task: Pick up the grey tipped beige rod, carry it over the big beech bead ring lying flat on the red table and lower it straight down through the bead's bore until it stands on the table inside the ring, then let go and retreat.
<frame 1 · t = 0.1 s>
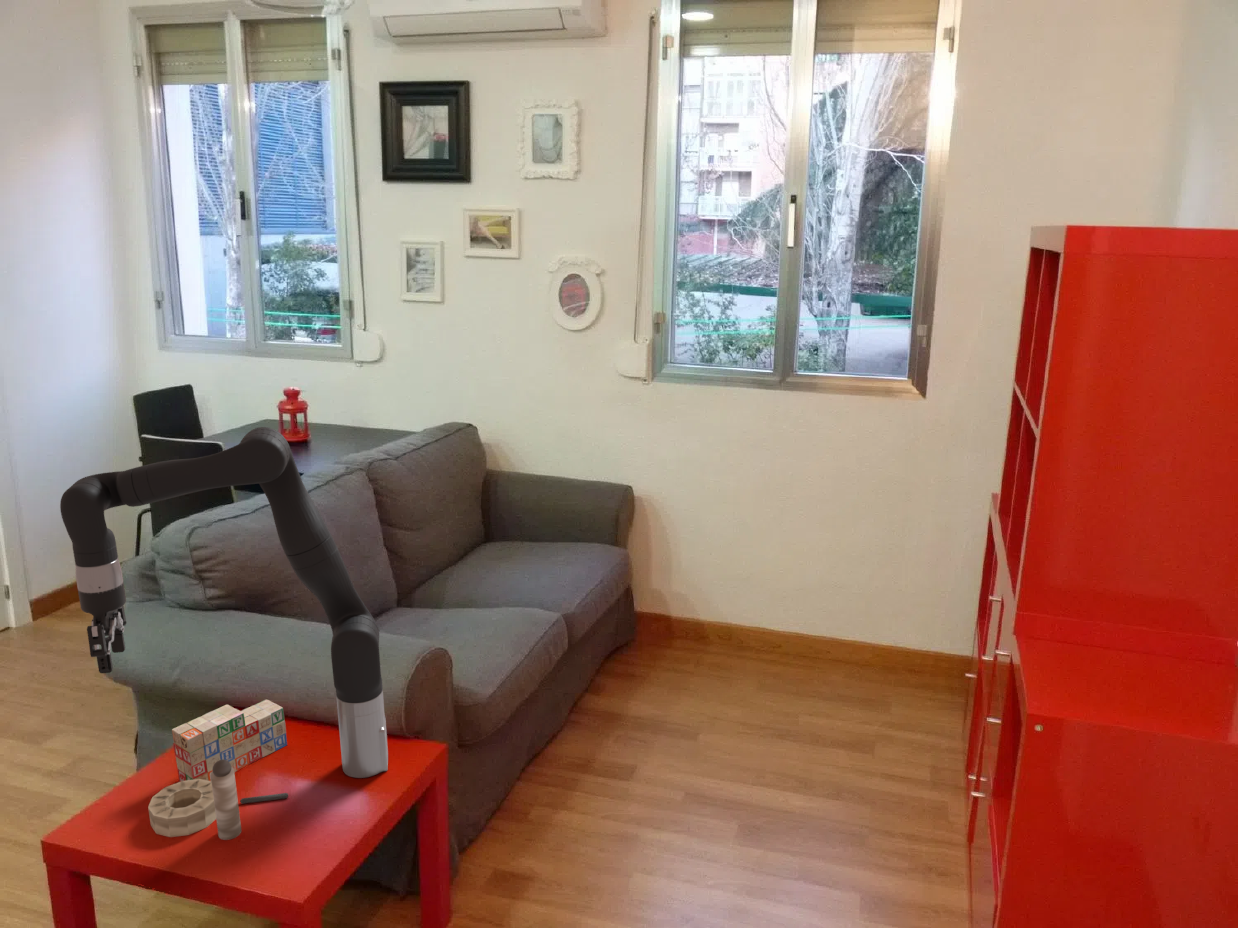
hand: (112, 661, 179), 29 cm above the table, fingers open, 8 cm apart
stack of blocks: (235, 763, 198), on the table
grey tipped beige rod: (230, 832, 176), on the table
bead: (186, 815, 180), on the table
dark grey rod: (264, 800, 185), on the table
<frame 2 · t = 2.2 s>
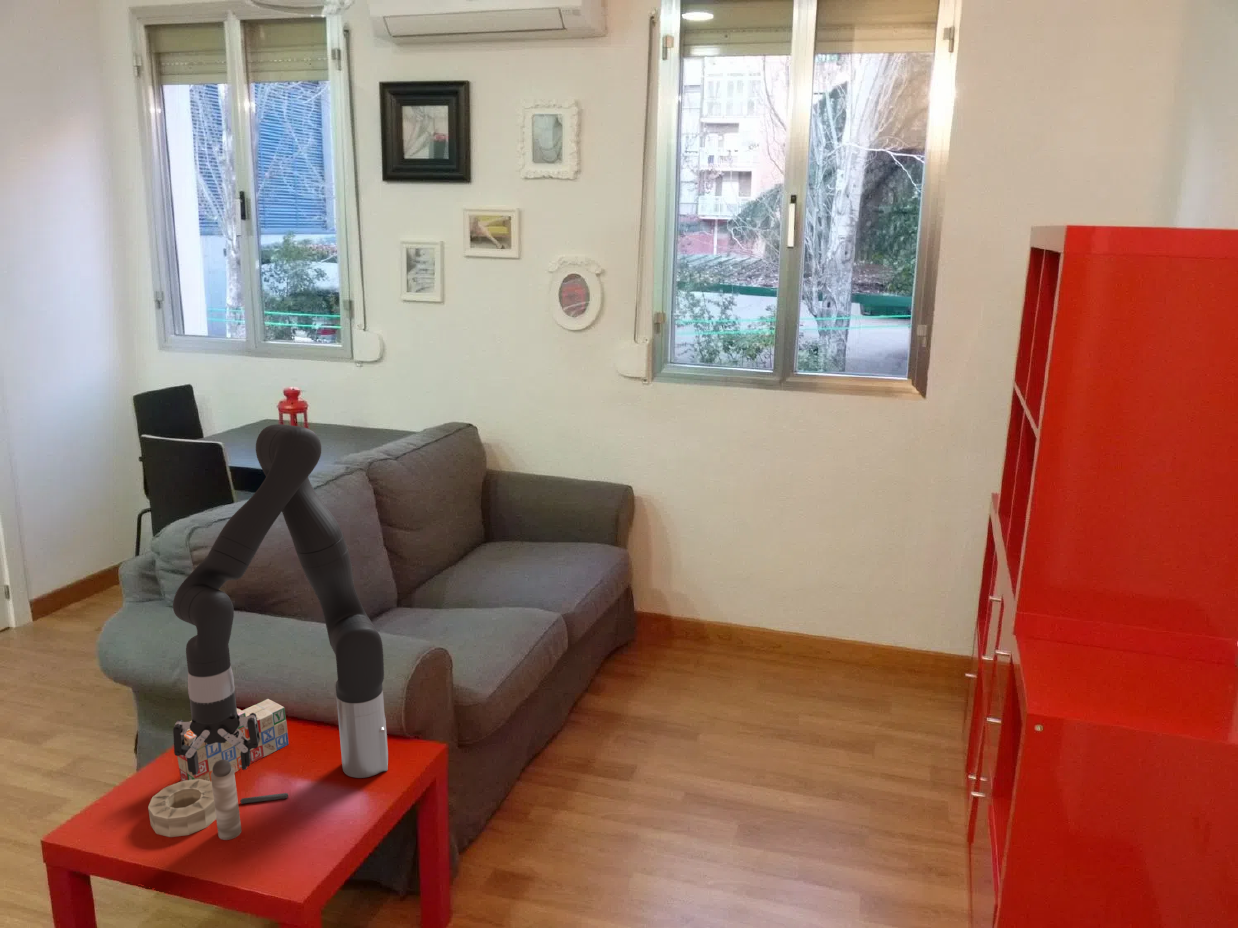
hand: (220, 769, 172), 13 cm above the table, fingers open, 8 cm apart
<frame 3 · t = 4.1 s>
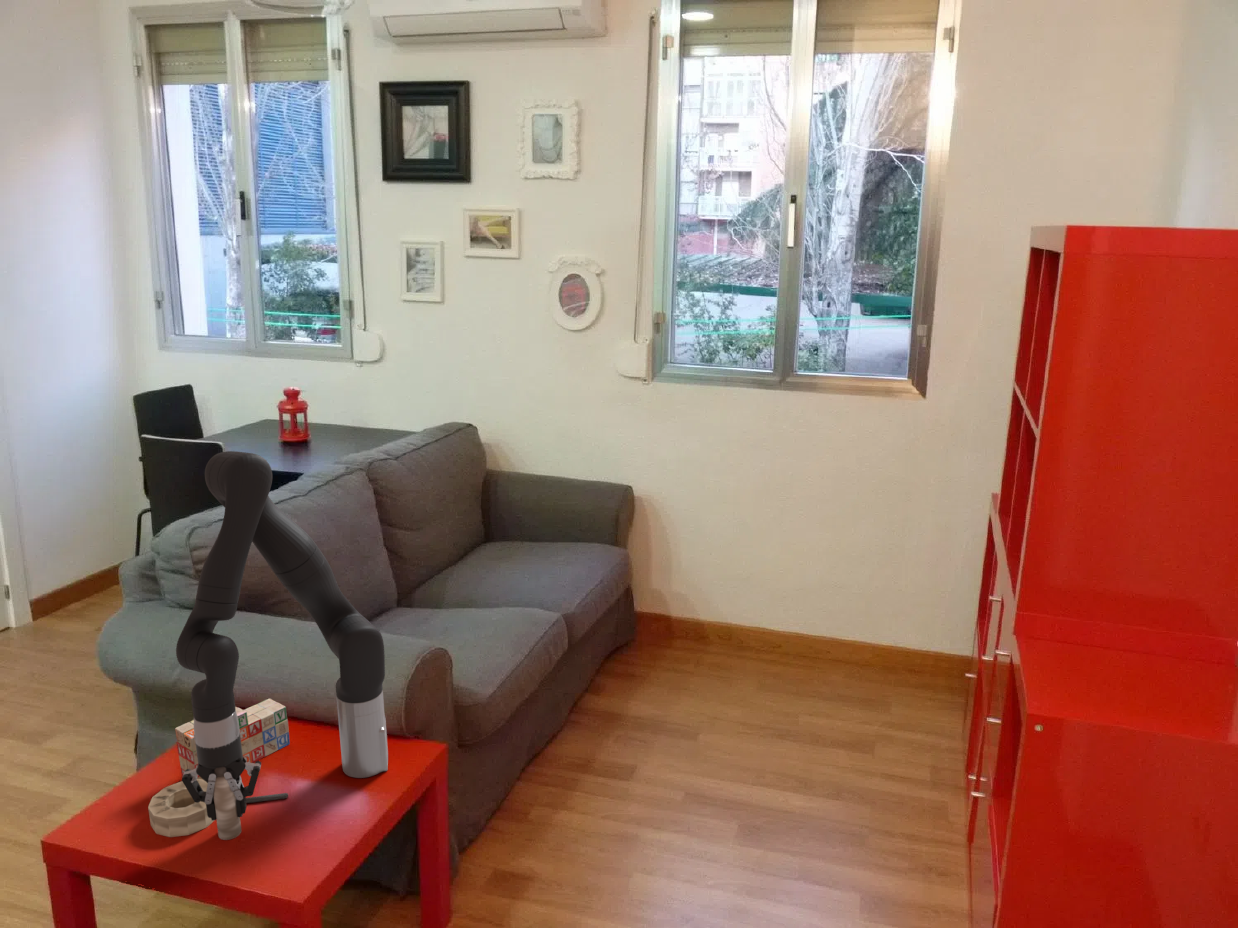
hand: (227, 815, 174), 4 cm above the table, fingers closed on grey tipped beige rod, 4 cm apart
grey tipped beige rod: (230, 832, 176), on the table, touching gripper
everything else where it was.
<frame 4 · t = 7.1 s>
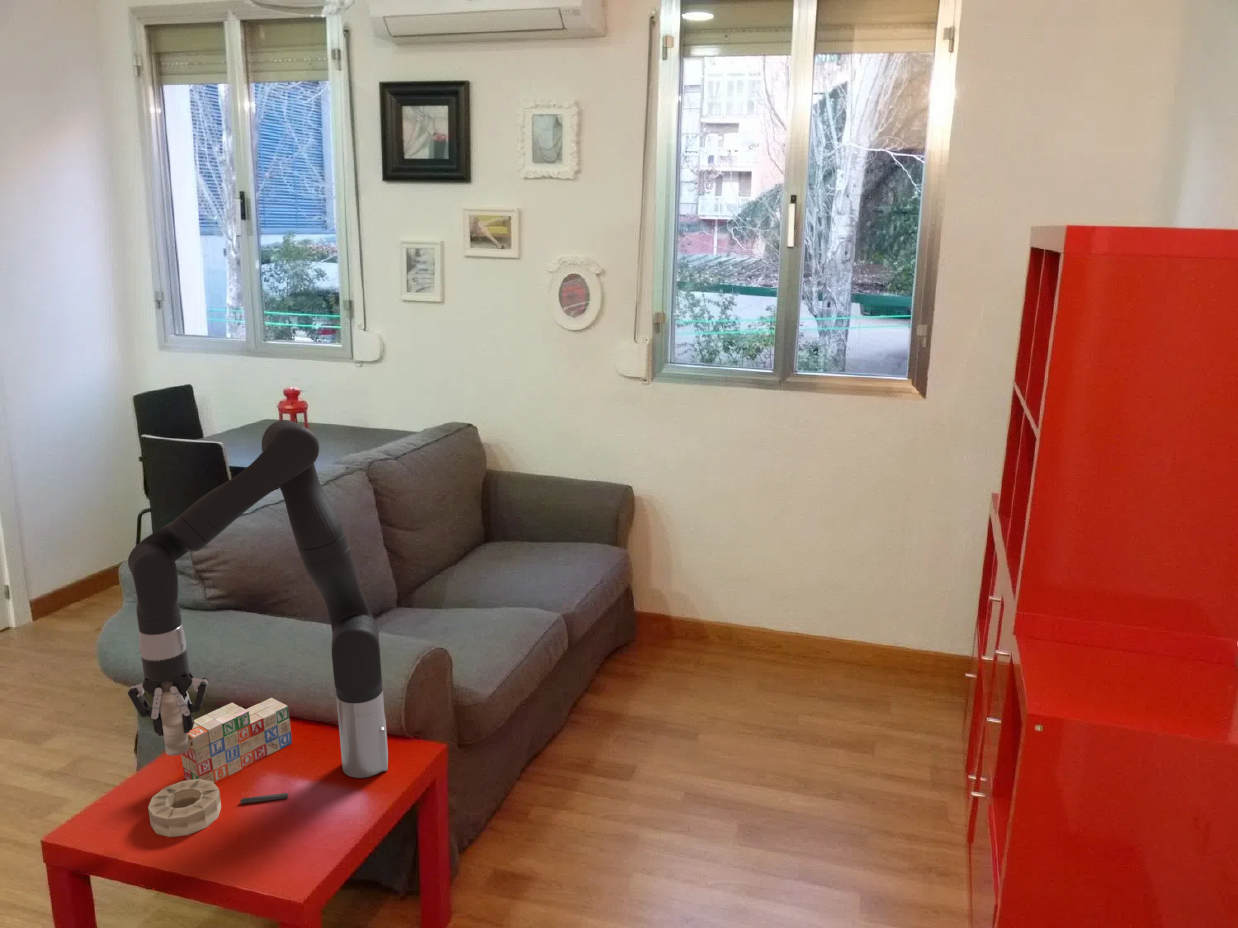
hand: (175, 731, 175), 18 cm above the table, fingers closed on grey tipped beige rod, 4 cm apart
grey tipped beige rod: (177, 749, 176), point 15 cm above the table, touching gripper
when the fingers open (5 cm above the table, at t = 10.1 s): grey tipped beige rod drops 1 cm, resting in bead.
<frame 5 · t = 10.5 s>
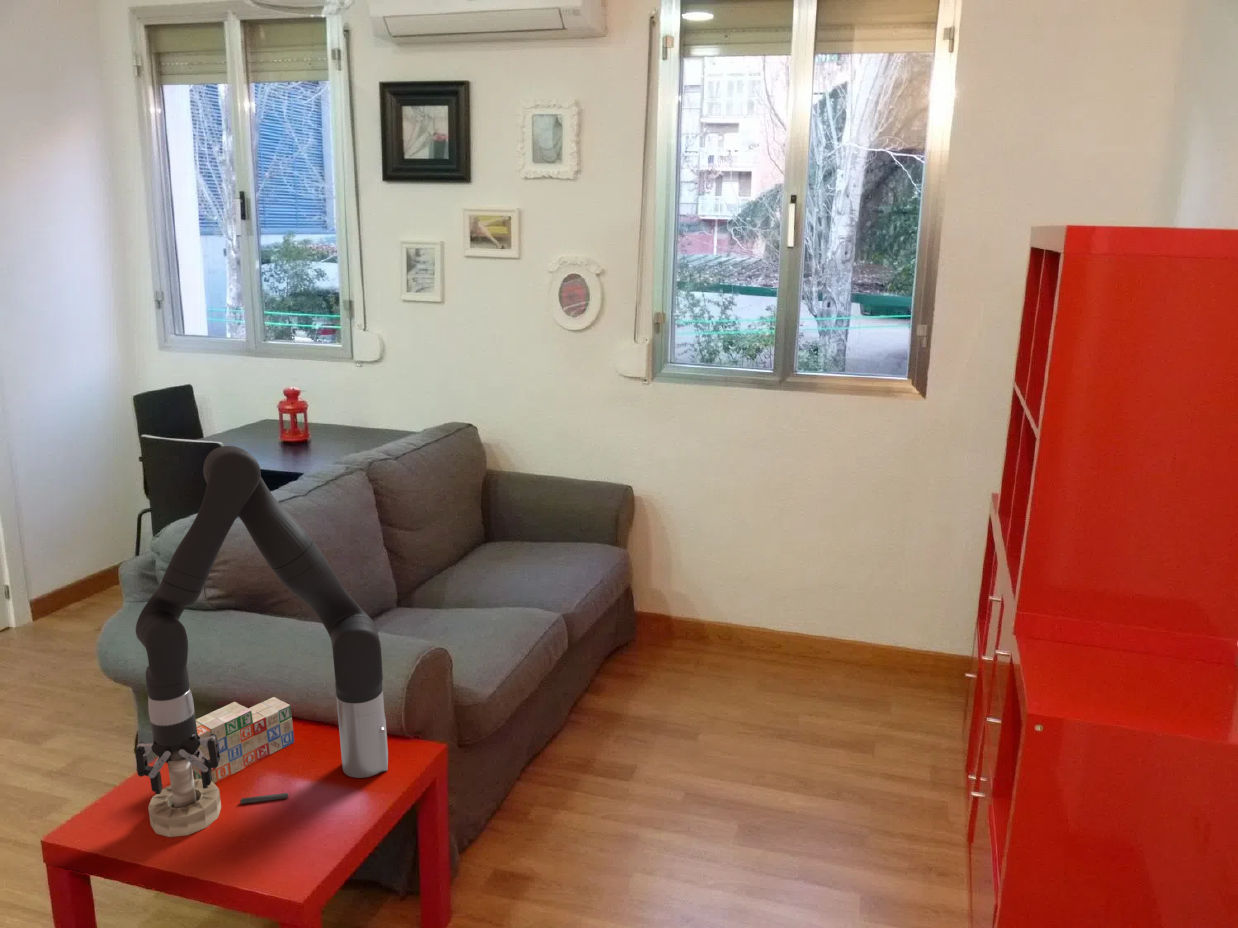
hand: (182, 788, 179), 6 cm above the table, fingers open, 8 cm apart
grey tipped beige rod: (187, 815, 180), resting in bead
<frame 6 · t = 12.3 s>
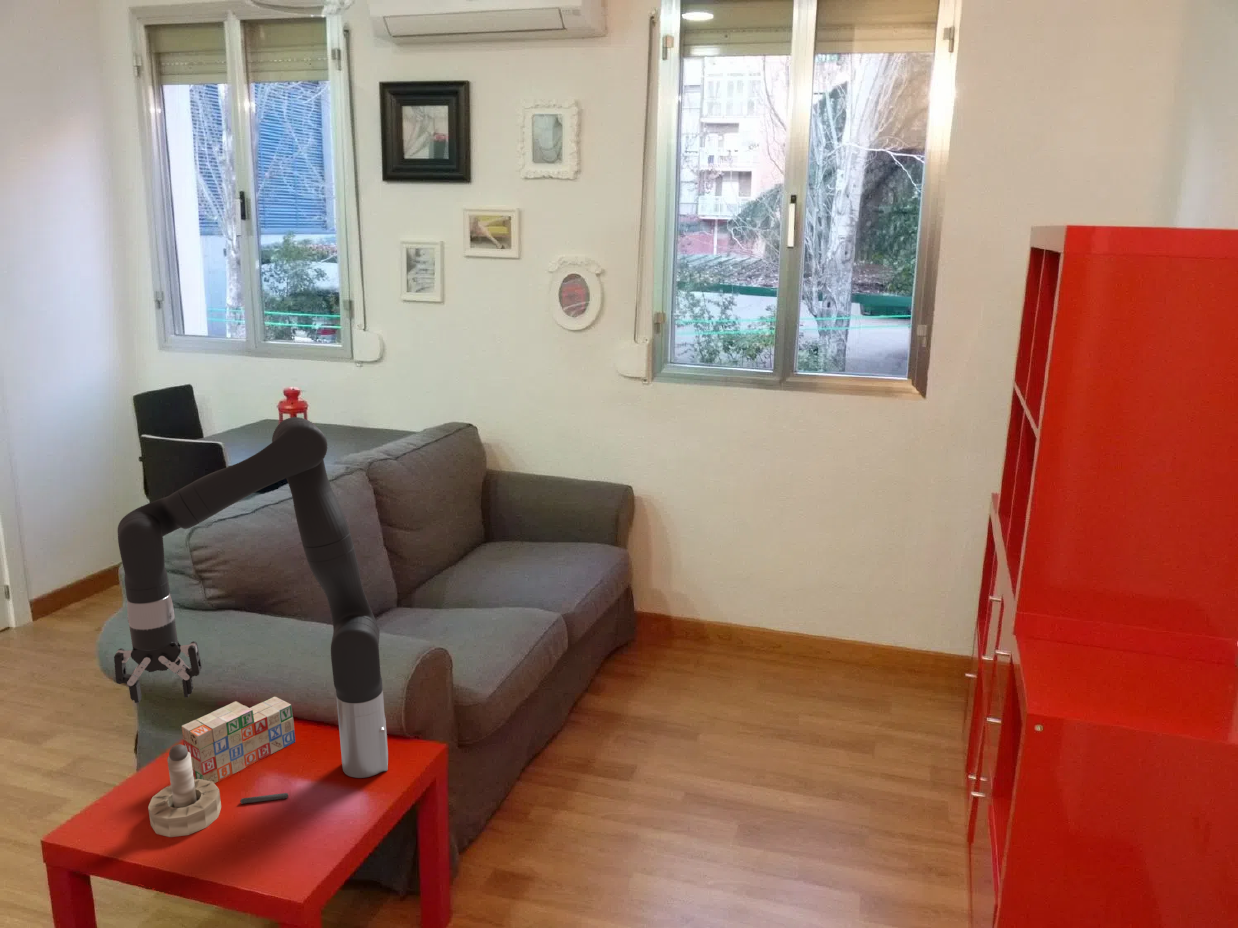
hand: (162, 698, 175), 24 cm above the table, fingers open, 8 cm apart
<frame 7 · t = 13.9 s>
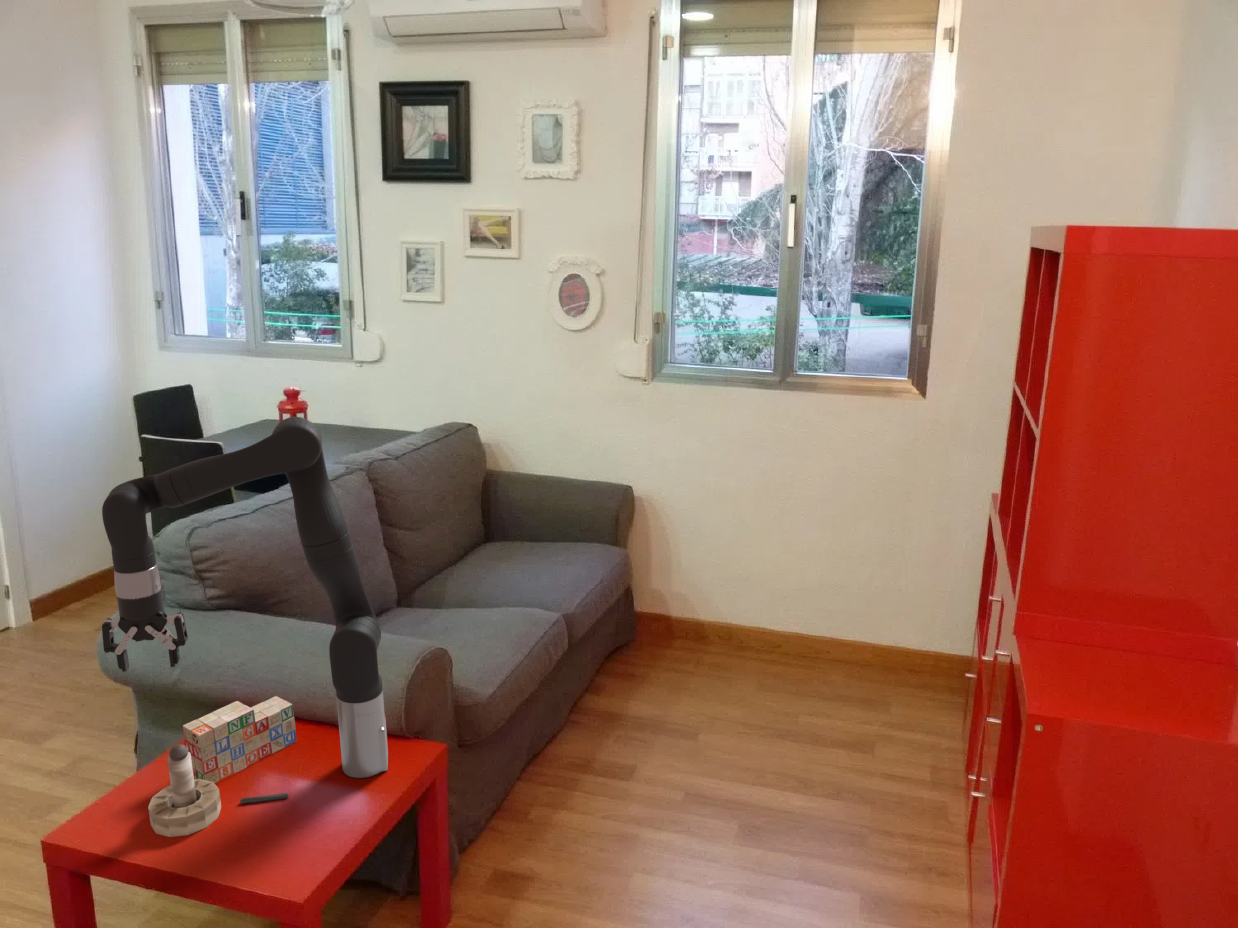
hand: (150, 667, 179), 28 cm above the table, fingers open, 8 cm apart
at the end: grey tipped beige rod 0.1 cm from the bead (horizontally); grey tipped beige rod resting in bead; grey tipped beige rod tilted 0° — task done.
